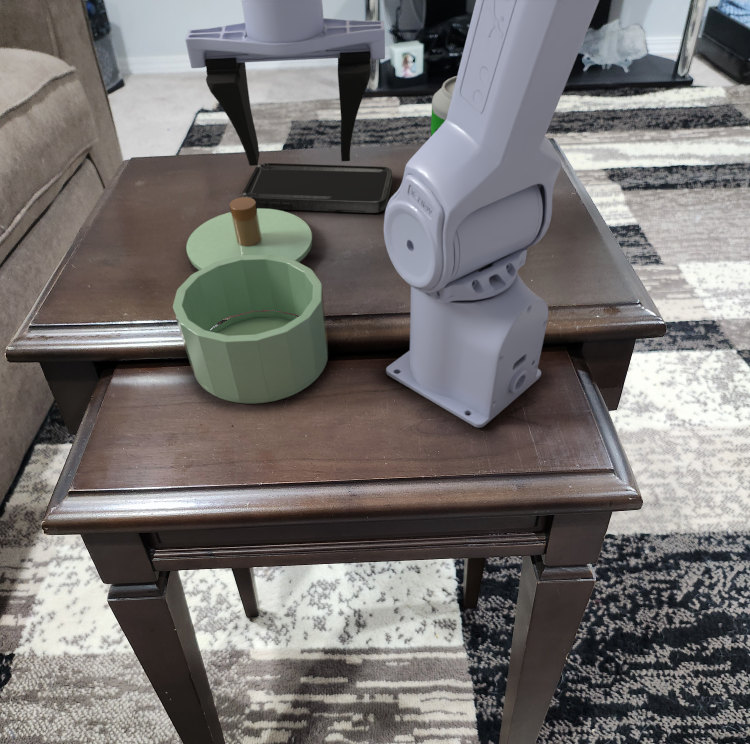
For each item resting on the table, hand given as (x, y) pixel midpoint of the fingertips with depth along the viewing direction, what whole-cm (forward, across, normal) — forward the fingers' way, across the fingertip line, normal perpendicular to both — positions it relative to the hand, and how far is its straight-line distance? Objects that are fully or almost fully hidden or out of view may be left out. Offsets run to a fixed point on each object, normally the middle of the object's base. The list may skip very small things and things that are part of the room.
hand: (300, 158), depth 56 cm
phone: (+9, 0, -13) cm, 16 cm away
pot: (+9, +4, +14) cm, 17 cm away
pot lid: (+9, +6, -2) cm, 11 cm away
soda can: (+10, -15, -6) cm, 19 cm away
